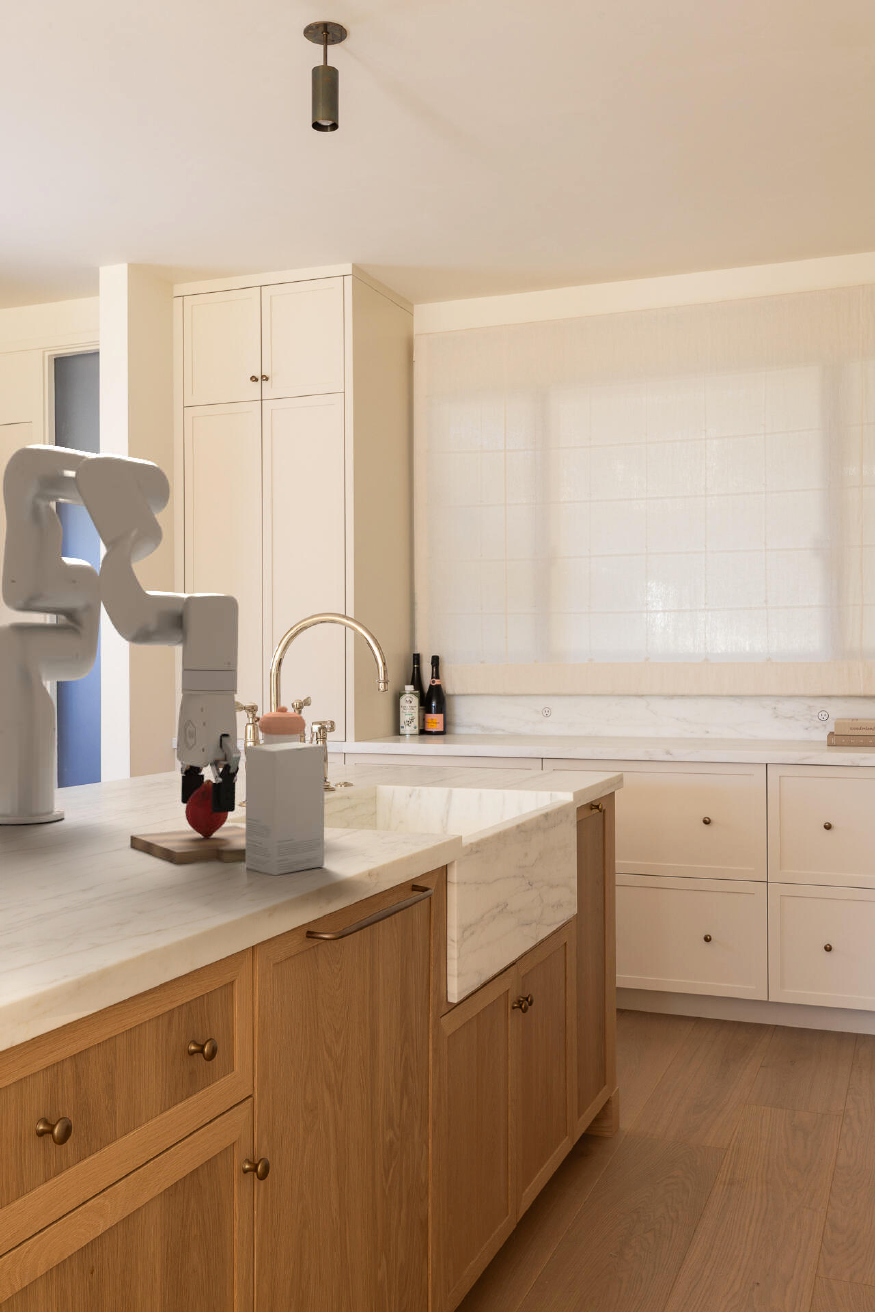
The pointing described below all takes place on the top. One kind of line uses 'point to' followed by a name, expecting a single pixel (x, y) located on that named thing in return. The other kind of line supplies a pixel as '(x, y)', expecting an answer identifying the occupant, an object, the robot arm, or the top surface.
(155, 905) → the top surface
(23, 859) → the top surface
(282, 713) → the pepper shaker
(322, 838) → the skincare box
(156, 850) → the board
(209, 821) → the onion
